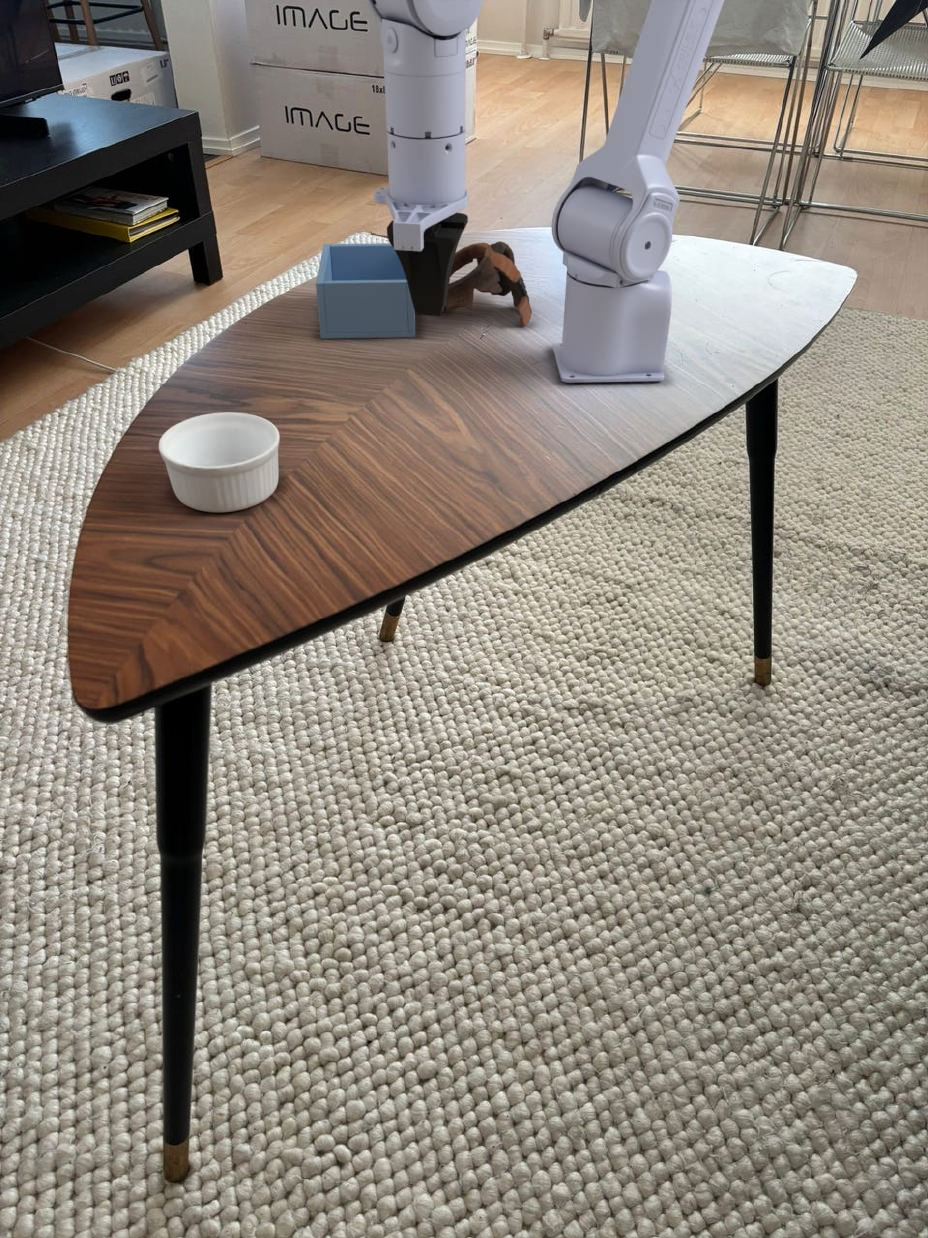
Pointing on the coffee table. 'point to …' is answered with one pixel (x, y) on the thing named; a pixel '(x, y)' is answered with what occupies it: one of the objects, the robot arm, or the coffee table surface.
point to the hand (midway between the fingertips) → (429, 312)
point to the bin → (363, 293)
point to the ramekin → (222, 460)
